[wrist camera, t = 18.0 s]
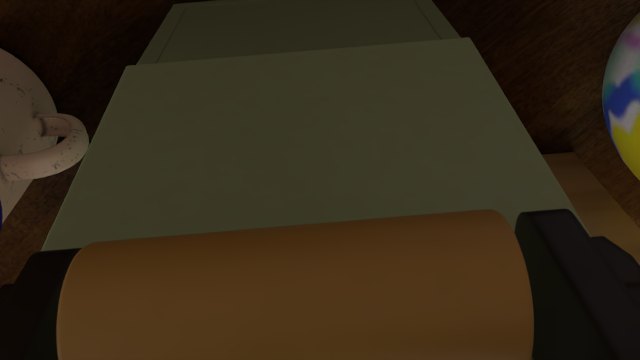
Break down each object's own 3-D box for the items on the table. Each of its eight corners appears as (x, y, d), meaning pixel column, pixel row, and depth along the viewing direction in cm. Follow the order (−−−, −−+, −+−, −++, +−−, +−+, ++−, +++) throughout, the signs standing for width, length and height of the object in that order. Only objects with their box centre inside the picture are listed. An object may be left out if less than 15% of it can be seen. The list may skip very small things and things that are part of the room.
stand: (552, 248, 38) (754, 578, 22) (439, 258, 38) (554, 595, 22) (574, 151, 34) (848, 472, 17) (446, 162, 34) (597, 493, 17)
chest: (411, 222, 36) (442, 324, 29) (223, 238, 36) (207, 344, 29) (419, -17, 28) (465, 42, 20) (173, 3, 28) (131, 70, 20)
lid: (776, 596, 8) (1103, 401, 4) (-117, 672, 8) (-517, 538, 4) (467, 56, 20) (486, -103, 17) (131, 84, 20) (82, -69, 17)
